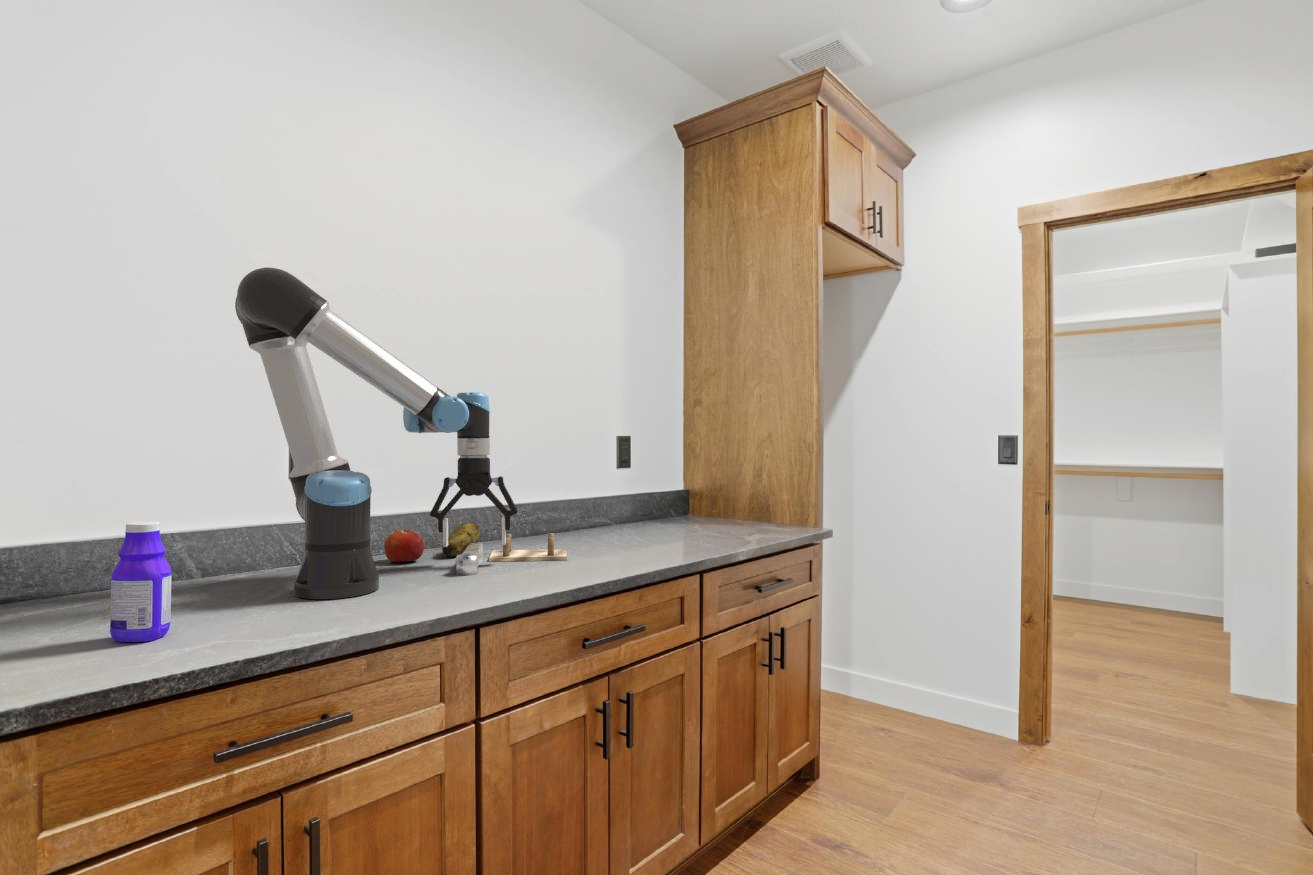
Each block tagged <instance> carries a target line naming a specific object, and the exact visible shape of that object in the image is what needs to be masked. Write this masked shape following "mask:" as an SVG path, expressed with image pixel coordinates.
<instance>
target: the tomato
mask: <svg viewBox="0 0 1313 875" xmlns="http://www.w3.org/2000/svg"><path fill="white" fill-rule="evenodd" d="M383 543H384V544H383V547H384V553H385V556H386V558H387V560H390V561H391V562H394V563H407V562H411V561H412V562H413V561H417V560H419V559H420V558H421V557H422V555H423V553H424V551H425V550H424V549H425V542H424V539H423V537H422V536H421V535H420V534H418V533H416V532H414V531H412V530H411V529H396V530H395V531H394V532H393V533H391V534H389V535H388V536H387V537H386V538H385V540H384V542H383Z"/></svg>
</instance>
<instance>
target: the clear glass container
mask: <svg viewBox="0 0 1313 875" xmlns="http://www.w3.org/2000/svg"><path fill="white" fill-rule="evenodd" d="M483 547H484V543H483V542H477V543H470V544H469V546H468V547H467V548H466V550H465V551H464V552H463V553H462V554H459V555H456V556H455V557H456V560H455V561H456V564H455V565H456V566H455V567H456V568H455V570H456V572H455V574H456V575H457V576H473V575H478V574H479V566H480V564H481V563H482V560H483V558H484V557H483V556H484V555H483V550H484V548H483Z"/></svg>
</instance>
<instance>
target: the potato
mask: <svg viewBox="0 0 1313 875" xmlns="http://www.w3.org/2000/svg"><path fill="white" fill-rule="evenodd" d="M480 532H481V529H480V527H479V525H477V524H476V523H473V522H463V523H461V524H459V525H458V526H456V527H455V529H453V531H452V532H451V534H450V535H448V546H447V547H443V545H442V546H441V547H442V548H441V551H442V554H443V555H444V556H446V557H448V558H452V557H453V558H454V557H456V556H457V555H460V554H462V553H463V552H464V551H465V550H466V548H467V547H468V546H469V544H470V543H478V540H479V538H480V534H481V533H480Z"/></svg>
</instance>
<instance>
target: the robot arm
mask: <svg viewBox="0 0 1313 875" xmlns="http://www.w3.org/2000/svg"><path fill="white" fill-rule="evenodd" d="M236 292H237V293H236V297H235V302H234V304H235V305H234V307H235V309H234V310H235V313H236V316H237V319H238V320H239V321H240V324H241V325H242V328H243V331H244V335H245V337H246V338H245V339H246V341H247V344H248V347H249V349H251V350H253V351H254V352H256V353H258V354H259V355H260V358H261V361H262V364H263V367H264V371H265V374H266V377H267V381H268V384H269V387H270V391H271V394H272V397H273V400H274V403H275V407H276V411H277V414H278V417H279V420H280V424H281V426H282V430H283V432H284V436H285V440H286V443H287V446H288V449H289V453H290V455H291V456H290V457H291V459H292V461H293V465H294V466H293V469H292V470H291V472H290V474H289V475H288V478H289V480H290V481H289V482H290V484H291V488H292V491H293V495H294V497H295V507H296V510H297V513H298V515H299V517H300V518H301V520H303V521H304V555H303V557H302V561H301V563H300V567H299V569H298V572H297V575H296V578H295V580H294V585H293V586H294V587H293V595H294V596H295V597H297V598H302V599H305V600H306V599H307V600H333V599H344V598H345V599H346V598H351V597H358V596H363V595H368V594H370V593H373V592H376V591H377V590H379V588H380V577H379V576H380V575H379V573H378V569H377V567H376V564H375V561H374V558H373V554H372V551H371V498H372V496H371V495H372V485H371V479H370V477H369V476H368V474H365V473H363V472H360V471H352V470H351V468H350V465H349V464H350V463H349V461H348V460H347V459H346V458H343V457H342V456H340V455H339V454H338V450H337V447H336V444H335V440H334V436H333V433H332V430H331V426H330V424H329V423H330V422H329V419H328V416H327V413H326V410H325V406H324V402H323V400H322V396H321V393H320V389H319V386H318V383H317V379H316V376H315V372H314V369H313V366H312V362H311V359H310V355H309V352H308V348H307V344H308V343H309V344H311V345H312V346H313V347H315V348H316V349H318V350H320V351H321V352H322V353H324V354H325V355H327V356H329V358H331V359H333V360H334V361H335V362H337V363H338V364H340V365H341V366H343V367H345V369H347V370H349V371H350V372H352V373H353V374H355V375H356V376H358V377H359V378H361V379H362V380H364V381H365V382H366V383H368V384H369V385H371V386H372V387H374V388H376V389H377V390H379V391H380V392H381V393H382V394H384V395H385V396H387V397H388V398H390V399H392V400H393V401H394V402H396V403H398V404H399V405H400V406H402V407H403V411H402V413H403V414H402V417H403V420H402V421H403V427H404V428H405V431H406V432H408V433H416V434H417V433H418V434H423V433H424V434H425V433H426V434H427V433H435V434H436V433H445V434H449V433H450V434H451V433H456V435H457V436H456V438H457V442H456V443H457V444H456V445H457V450H456V451H457V456H459V458H458V459H457V477H456V478H454V477H449V476H447V477H445V478H444V479H443V485H442V486H443V487H442V489H441V490H440V492H439V495H438V496H437V499H436V501H435V503H434V504H433V507H432V509H431V511H430V512H429V516H430V517H431V518H436V519H437V528H438V533H442V546H443V547H447V546H448V537H449V518H448V517H446V515H447V514H448V513H450V511H451V510H452V508H453V507H455V505H456V504H457V502H458V501H459V500H460V499H461V498H462V497H463V496H464V495H465V496H466V497H471V496H477V497H478V496H479V497H481V496H482V495H485V497H487V498H488V500H490V502H491V503H493V505H494V506H495V508H497V509H498V510H499V512H501V513H502V514H503V515H504V516H502V517H501V546H503V545H505V544H506V534H507V532H506V531H510V529H511V517H512V516H514V515H517V514H518V511H519V510H518V508H517V506H516V504H515V503H514V502H515V501H514V500H513V499H512V496H511V494H510V493H509V490H508V488H507V487H506V485H505V480H504V479H505V478H504V476H502V475H499V476H497V477H492V476H491V458H490V457H488V456H489V455H491V454H490V453H491V445H490V444H491V442H490V440H491V439H490V414H491V410H490V400H489V396H488V394H486V393H485V392H479V391H478V392H477V391H475V392H473V391H471V392H467V391H465V392H458V393H457V394H456V396H453V395H450V394H447V392H445V391H444V390H443V389H440V388H439V387H438V386H437V385H436V384H434V383H432V382H431V381H430V380H429V379H427V378H426V377H424V376H423V375H421V374H420V373H419V372H417V371H416V370H414V369H413V368H412V367H410V366H409V365H407V364H406V363H405V362H404V361H402V359H401V360H400V359H399V358H398V357H396V356H395V355H393V354H392V353H391V352H389V351H388V350H387V349H385V348H384V347H382V346H381V345H380V344H378V343H377V342H376V341H375V340H373V339H371V338H370V337H369V336H367V335H366V334H364V333H363V332H362V331H360V330H359V329H357V328H356V327H355V326H353V325H352V324H351V323H349V321H347V320H345V319H344V318H343V317H341V316H339V315H338V313H335V312H334V311H333V310H332V309H331V307H330V304H329V303H330V302H329V301H328V300H327V299H325V298H324V297H322V296H321V295H319V294H318V292H316V291H314V290H313V289H312V288H311V287H309V286H308V285H307V284H305V283H304V282H303V281H302V280H300V279H299V278H298V277H296V276H294V275H293V274H292V273H289V272H288V271H286V270H284V269H280V268H276V267H260V268H255V269H253V270H252V271H250V272H248V273H247V274H246V275H245V276H244V277H242V279H241V280H240V282H239V284H238V287H237V291H236ZM493 483H494V485H495V486H496V487H498V489H499V490H500V492H501V494H502V496H503V498H504V500H505V502H506V504H507V505H508V507H509V509H508V508H507V507H506V506H505V505H504V504H503V503H502V502H501V501H500V499H499V498H498V497H497V496H496V495H495V494H494V493H493V491H491V489H490V488H489V487H490V486H491V485H492V484H493ZM454 484H456V486H457V487H458V488H459V490H458V491H457V493H456V494H455V495H454V497H452V498H451V500H450V501H449V502H448V503H447V505H445V507H444V508H443V509H442V510H441V512H439V510H440V508H441V506H442V504H443V502H444V500H445V498H446V497H447V494H448V492H449V490H450V488H451V487H453V486H454ZM445 517H446V518H445Z"/></svg>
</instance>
